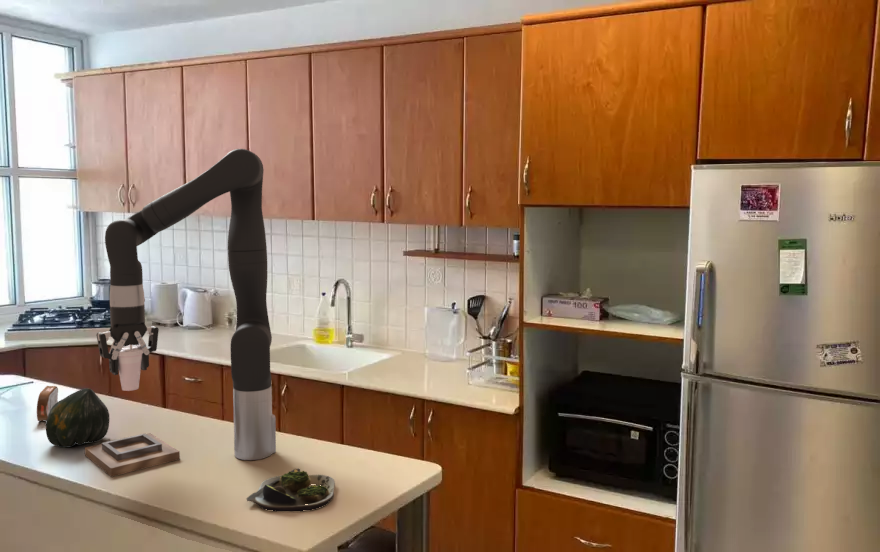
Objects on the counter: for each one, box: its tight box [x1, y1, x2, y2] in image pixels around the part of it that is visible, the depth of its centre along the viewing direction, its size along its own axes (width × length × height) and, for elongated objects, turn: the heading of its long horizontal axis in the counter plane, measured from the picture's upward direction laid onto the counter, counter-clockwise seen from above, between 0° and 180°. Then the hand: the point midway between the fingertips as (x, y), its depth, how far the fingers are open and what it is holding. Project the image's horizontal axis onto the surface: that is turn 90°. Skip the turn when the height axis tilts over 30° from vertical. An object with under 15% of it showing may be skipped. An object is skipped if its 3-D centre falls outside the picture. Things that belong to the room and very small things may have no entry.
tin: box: [36, 385, 59, 422], centre depth 200 cm, size 15×3×8 cm, turn 17°
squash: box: [45, 387, 110, 448], centre depth 179 cm, size 14×15×15 cm
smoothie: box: [116, 345, 144, 392], centre depth 166 cm, size 6×6×14 cm
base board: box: [84, 432, 181, 477], centre depth 169 cm, size 16×18×4 cm
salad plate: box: [246, 468, 336, 512], centre depth 150 cm, size 19×18×5 cm
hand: (129, 371), depth 166 cm, fingers closed on smoothie, 6 cm apart
